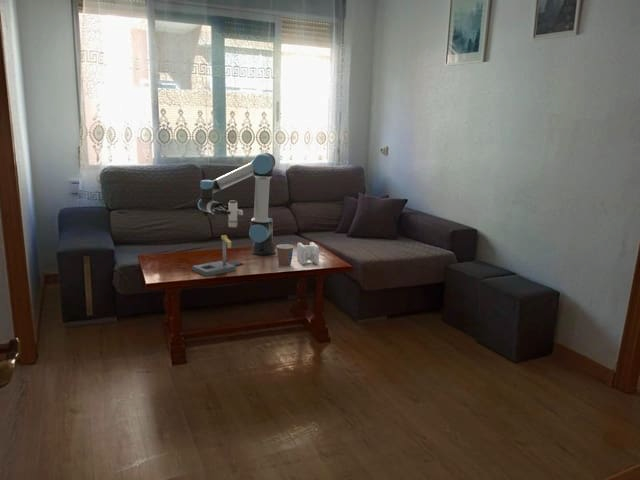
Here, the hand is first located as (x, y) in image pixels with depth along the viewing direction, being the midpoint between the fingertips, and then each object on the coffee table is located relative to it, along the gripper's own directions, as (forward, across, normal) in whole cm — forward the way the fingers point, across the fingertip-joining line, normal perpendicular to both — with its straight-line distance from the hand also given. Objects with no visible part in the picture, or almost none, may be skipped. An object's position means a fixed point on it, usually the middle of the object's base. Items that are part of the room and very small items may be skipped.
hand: (238, 213), depth 292 cm
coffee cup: (+16, -22, -32) cm, 42 cm away
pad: (-5, 0, -31) cm, 32 cm away
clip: (+5, +11, -16) cm, 20 cm away
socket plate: (-1, +16, -32) cm, 35 cm away
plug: (-5, 0, -8) cm, 10 cm away
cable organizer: (+19, -38, -32) cm, 53 cm away
